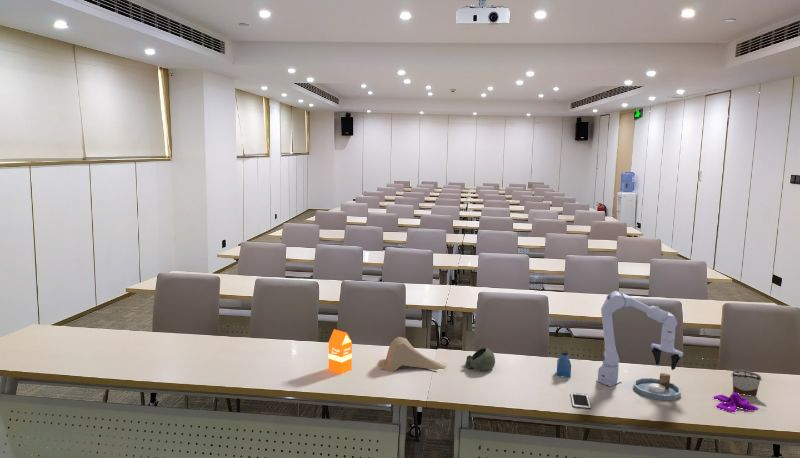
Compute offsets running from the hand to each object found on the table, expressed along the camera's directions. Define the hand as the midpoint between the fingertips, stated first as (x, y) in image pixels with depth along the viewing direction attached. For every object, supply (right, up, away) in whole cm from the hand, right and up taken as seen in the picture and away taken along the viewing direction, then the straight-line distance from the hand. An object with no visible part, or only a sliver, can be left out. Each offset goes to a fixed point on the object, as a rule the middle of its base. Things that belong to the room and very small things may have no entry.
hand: (665, 366), depth 271 cm
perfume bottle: (-44, -8, +15) cm, 47 cm away
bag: (-119, -6, +22) cm, 121 cm away
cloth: (+25, -14, -16) cm, 33 cm away
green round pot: (-85, -6, +22) cm, 88 cm away
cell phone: (-45, -12, -16) cm, 49 cm away
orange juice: (-156, -5, +14) cm, 156 cm away
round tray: (-5, -11, -3) cm, 12 cm away
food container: (+36, -12, -2) cm, 37 cm away
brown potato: (0, -10, +1) cm, 10 cm away
